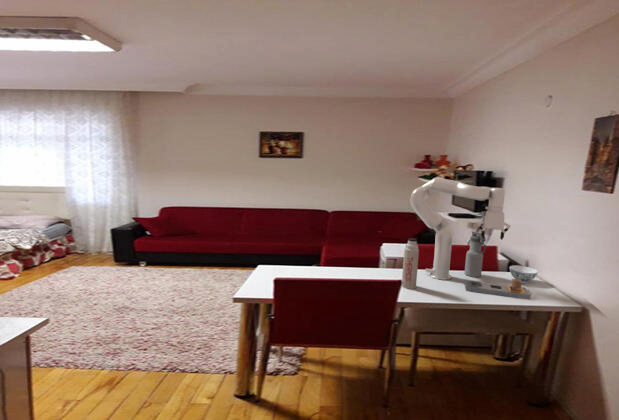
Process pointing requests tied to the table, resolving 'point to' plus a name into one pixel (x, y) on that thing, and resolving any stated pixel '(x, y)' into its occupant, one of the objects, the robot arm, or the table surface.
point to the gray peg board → (495, 289)
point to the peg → (516, 285)
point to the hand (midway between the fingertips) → (492, 238)
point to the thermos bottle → (410, 264)
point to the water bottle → (475, 255)
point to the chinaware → (523, 273)
